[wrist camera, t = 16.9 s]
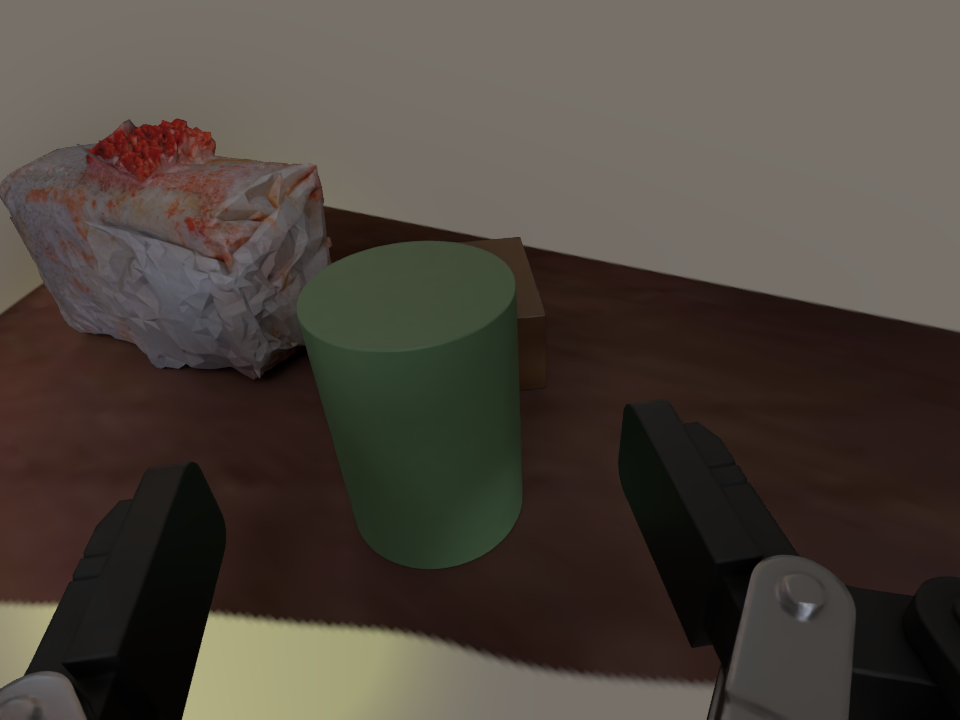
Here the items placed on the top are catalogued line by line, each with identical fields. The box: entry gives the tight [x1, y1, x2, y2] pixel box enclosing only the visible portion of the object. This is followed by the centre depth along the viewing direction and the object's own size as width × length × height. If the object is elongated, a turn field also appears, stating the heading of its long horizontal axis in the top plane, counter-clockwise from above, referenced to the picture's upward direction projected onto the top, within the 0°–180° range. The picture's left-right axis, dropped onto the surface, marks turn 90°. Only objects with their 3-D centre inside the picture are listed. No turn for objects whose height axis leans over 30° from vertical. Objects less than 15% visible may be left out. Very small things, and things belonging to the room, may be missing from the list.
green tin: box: [296, 241, 523, 569], centre depth 18 cm, size 6×6×8 cm
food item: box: [0, 119, 332, 380], centre depth 26 cm, size 14×8×10 cm, turn 67°
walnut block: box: [460, 237, 546, 390], centre depth 26 cm, size 7×7×4 cm
